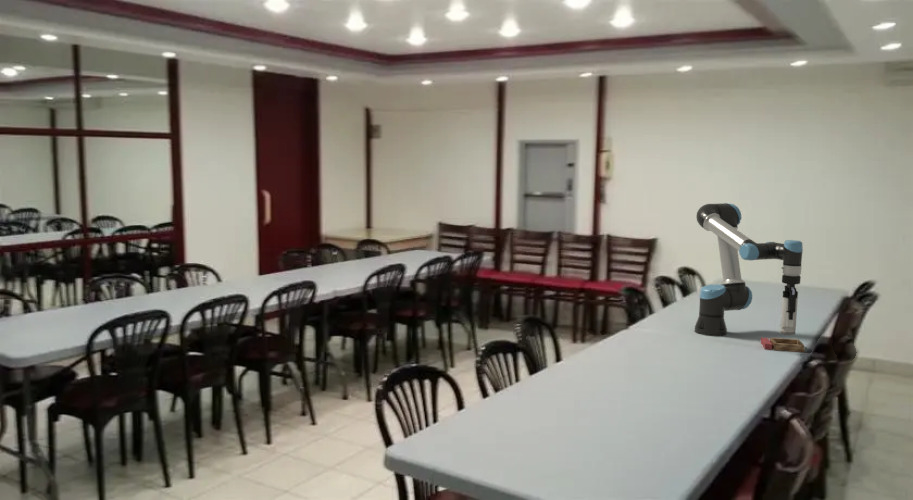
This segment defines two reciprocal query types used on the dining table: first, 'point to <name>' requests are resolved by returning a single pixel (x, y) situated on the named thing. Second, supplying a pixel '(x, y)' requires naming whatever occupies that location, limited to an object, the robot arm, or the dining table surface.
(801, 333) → the dining table surface
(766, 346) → the door edge strip
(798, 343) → the box
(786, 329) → the travel mug
